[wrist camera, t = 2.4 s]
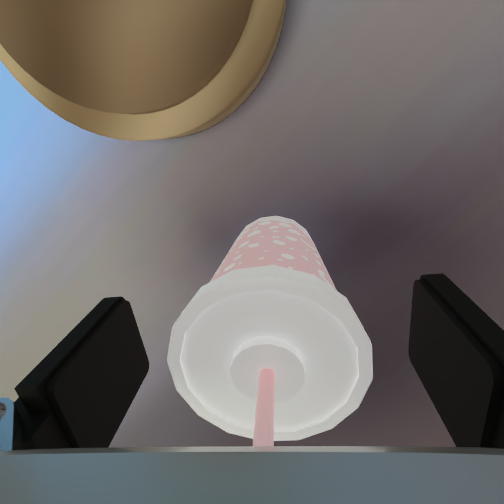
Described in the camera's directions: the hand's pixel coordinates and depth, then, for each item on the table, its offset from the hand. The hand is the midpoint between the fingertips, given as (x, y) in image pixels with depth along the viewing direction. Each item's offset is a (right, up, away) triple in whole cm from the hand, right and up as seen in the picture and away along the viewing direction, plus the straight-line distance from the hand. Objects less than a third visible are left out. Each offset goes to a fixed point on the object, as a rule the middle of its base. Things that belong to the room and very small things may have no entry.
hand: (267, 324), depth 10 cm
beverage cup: (+1, +2, +7) cm, 8 cm away
